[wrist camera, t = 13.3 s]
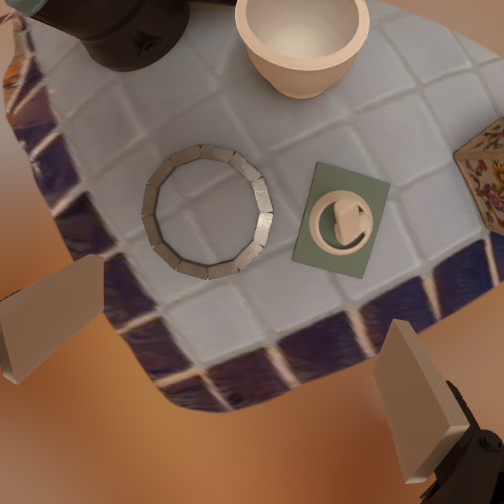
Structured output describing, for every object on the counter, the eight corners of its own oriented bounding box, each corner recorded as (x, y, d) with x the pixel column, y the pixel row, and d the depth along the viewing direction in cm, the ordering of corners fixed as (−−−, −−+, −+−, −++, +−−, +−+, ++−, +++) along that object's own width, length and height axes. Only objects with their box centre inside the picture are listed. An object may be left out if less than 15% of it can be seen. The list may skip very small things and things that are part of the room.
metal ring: (159, 137, 37) (156, 136, 36) (286, 162, 36) (285, 162, 35) (138, 257, 41) (135, 259, 40) (254, 289, 40) (253, 292, 39)
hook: (330, 136, 29) (386, 175, 25) (346, 195, 39) (386, 229, 36) (276, 186, 29) (328, 232, 26) (304, 235, 40) (343, 273, 36)
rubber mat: (317, 162, 35) (317, 162, 35) (389, 184, 35) (390, 184, 34) (291, 259, 38) (291, 260, 38) (361, 277, 38) (361, 279, 37)
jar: (338, 115, 33) (365, 82, 19) (250, 101, 34) (223, 62, 20) (347, 37, 31) (372, -25, 16) (263, 25, 31) (245, -42, 17)
